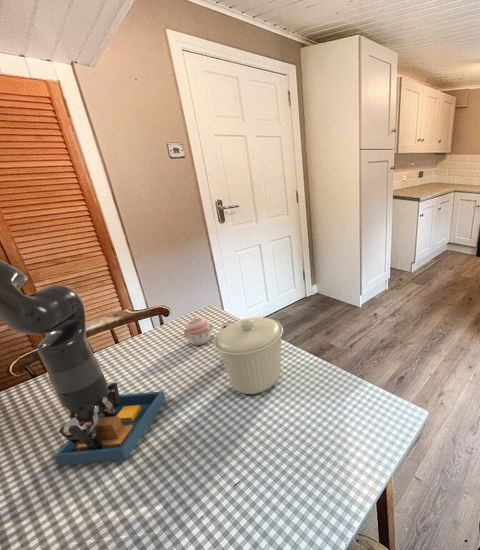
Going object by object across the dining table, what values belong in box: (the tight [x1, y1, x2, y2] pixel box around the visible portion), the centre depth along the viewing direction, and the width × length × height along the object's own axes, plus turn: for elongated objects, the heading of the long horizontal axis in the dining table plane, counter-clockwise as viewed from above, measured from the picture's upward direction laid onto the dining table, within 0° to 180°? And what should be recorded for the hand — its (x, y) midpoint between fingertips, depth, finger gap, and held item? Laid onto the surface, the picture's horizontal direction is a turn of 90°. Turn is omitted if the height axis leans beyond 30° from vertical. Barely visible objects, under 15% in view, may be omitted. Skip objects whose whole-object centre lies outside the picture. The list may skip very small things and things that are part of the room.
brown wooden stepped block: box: [76, 416, 134, 451], centre depth 69 cm, size 9×5×7 cm, turn 96°
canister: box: [213, 316, 284, 395], centre depth 86 cm, size 18×18×21 cm
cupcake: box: [183, 316, 213, 346], centre depth 108 cm, size 9×9×10 cm
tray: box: [53, 390, 167, 468], centre depth 74 cm, size 14×18×4 cm
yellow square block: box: [117, 405, 142, 423], centre depth 77 cm, size 4×4×2 cm
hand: (105, 437), depth 70 cm, fingers closed on brown wooden stepped block, 5 cm apart
